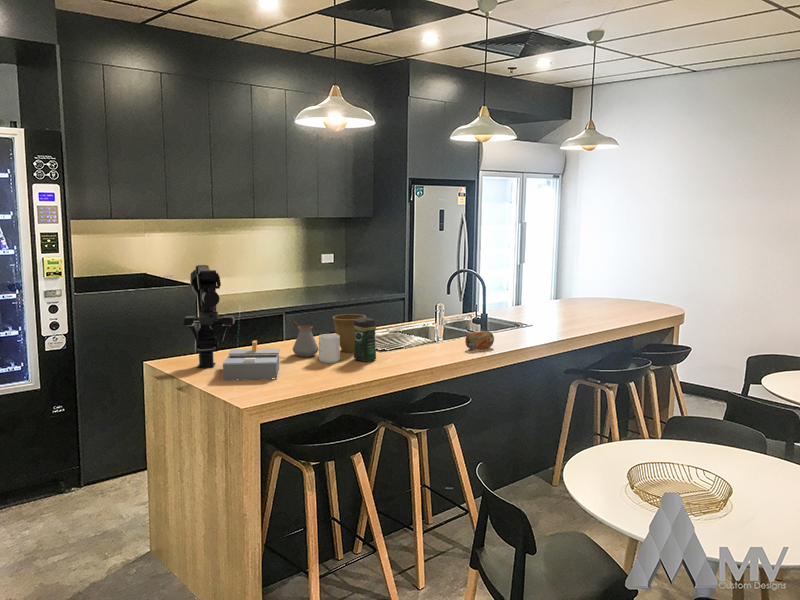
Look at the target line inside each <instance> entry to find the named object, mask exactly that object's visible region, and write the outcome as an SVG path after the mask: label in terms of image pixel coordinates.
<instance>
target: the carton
mask: <svg viewBox="0 0 800 600" xmlns="http://www.w3.org/2000/svg"><path fill="white" fill-rule="evenodd" d="M279 354H280V353H279ZM279 354H263V355H229V354H228V356H227V357H226V358H275V357H277V363H276V364H237V365H223V364H222V378H223V379H222V380H223V381H238V380H237V379H267V380H273V379H272V378H275V379H274V380H277V379H278V376H277V375H279V372H280V355H279ZM278 371H279V372H278ZM276 378H277V379H276Z"/></svg>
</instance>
